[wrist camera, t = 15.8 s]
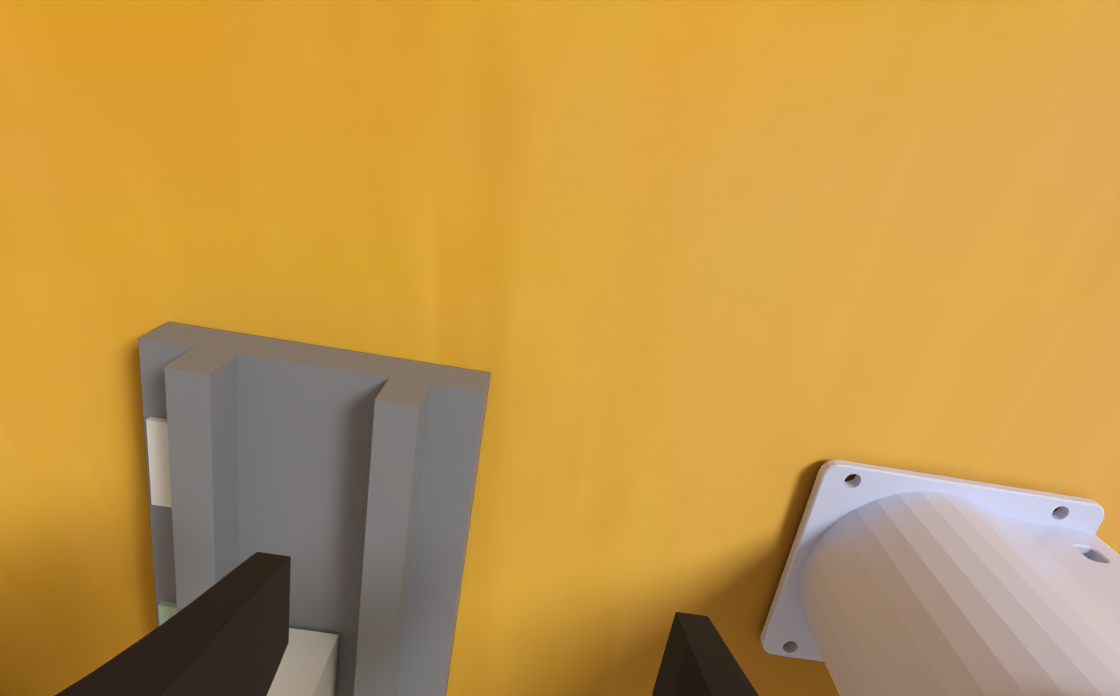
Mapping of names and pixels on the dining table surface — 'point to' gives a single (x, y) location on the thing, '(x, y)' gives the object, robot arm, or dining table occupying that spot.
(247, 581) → the robot arm
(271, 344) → the switch board
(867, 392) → the dining table surface
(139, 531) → the dining table surface
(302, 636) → the switch tab
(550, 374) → the dining table surface
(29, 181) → the dining table surface
